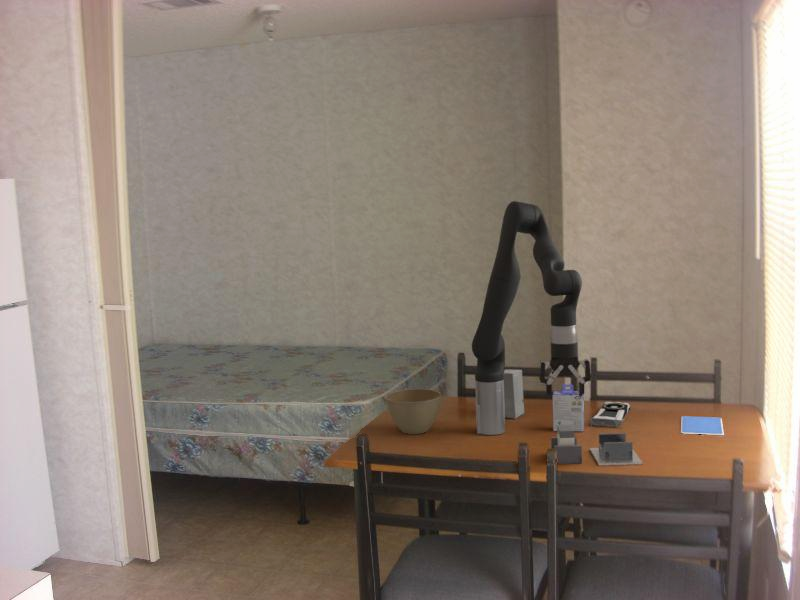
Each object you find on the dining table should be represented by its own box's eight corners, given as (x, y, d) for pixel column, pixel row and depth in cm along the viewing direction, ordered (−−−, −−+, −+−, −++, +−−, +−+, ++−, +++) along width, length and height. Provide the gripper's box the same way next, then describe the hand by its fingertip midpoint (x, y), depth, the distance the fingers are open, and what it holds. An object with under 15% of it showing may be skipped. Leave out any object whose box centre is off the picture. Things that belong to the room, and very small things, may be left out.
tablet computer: (724, 438, 247) (724, 434, 247) (680, 436, 251) (680, 431, 251) (721, 421, 265) (721, 417, 265) (680, 419, 270) (680, 415, 269)
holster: (555, 463, 229) (555, 446, 228) (551, 453, 238) (550, 436, 238) (581, 463, 229) (581, 446, 228) (576, 452, 238) (576, 436, 237)
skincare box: (515, 419, 276) (514, 374, 274) (496, 417, 280) (495, 372, 278) (525, 413, 283) (524, 369, 281) (506, 411, 287) (505, 367, 285)
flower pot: (405, 421, 280) (403, 387, 279) (451, 426, 271) (450, 391, 269) (377, 435, 265) (375, 399, 263) (425, 441, 256) (423, 404, 254)
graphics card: (590, 418, 264) (604, 399, 286) (590, 428, 264) (604, 408, 286) (621, 420, 259) (633, 401, 282) (621, 430, 260) (633, 410, 282)
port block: (598, 465, 226) (598, 446, 225) (589, 450, 240) (589, 431, 239) (642, 464, 225) (642, 444, 225) (631, 448, 239) (630, 430, 238)
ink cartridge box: (584, 427, 264) (583, 383, 262) (584, 432, 258) (583, 387, 256) (553, 426, 266) (552, 383, 264) (552, 431, 260) (552, 387, 258)
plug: (560, 461, 231) (560, 431, 229) (557, 455, 237) (557, 425, 235) (574, 461, 230) (574, 430, 229) (571, 454, 236) (571, 425, 235)
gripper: (540, 343, 226) (542, 400, 228) (591, 341, 225) (593, 398, 227) (537, 339, 233) (538, 394, 235) (587, 337, 233) (588, 392, 235)
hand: (565, 396), depth 231 cm, fingers open, 8 cm apart
